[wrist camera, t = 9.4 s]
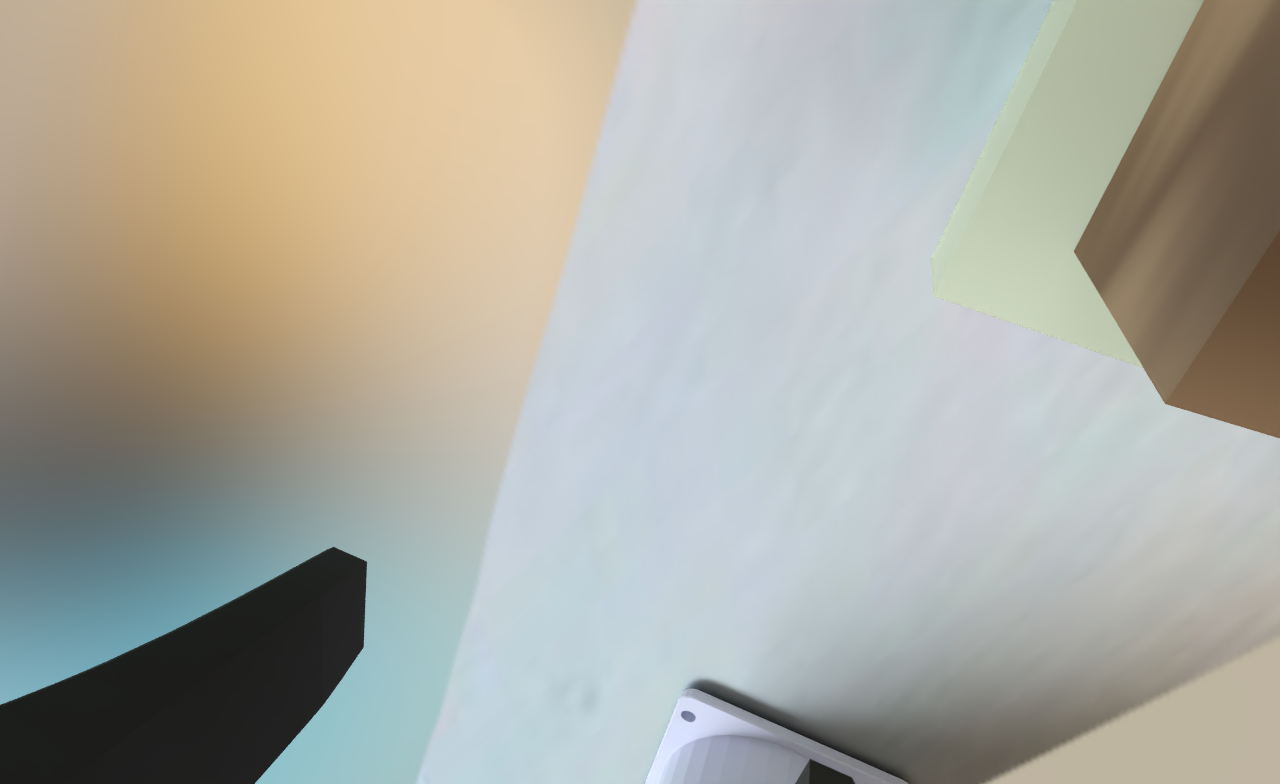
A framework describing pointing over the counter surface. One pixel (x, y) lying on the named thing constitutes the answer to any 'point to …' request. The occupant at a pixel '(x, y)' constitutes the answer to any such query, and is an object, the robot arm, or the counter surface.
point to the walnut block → (1202, 222)
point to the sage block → (1058, 168)
